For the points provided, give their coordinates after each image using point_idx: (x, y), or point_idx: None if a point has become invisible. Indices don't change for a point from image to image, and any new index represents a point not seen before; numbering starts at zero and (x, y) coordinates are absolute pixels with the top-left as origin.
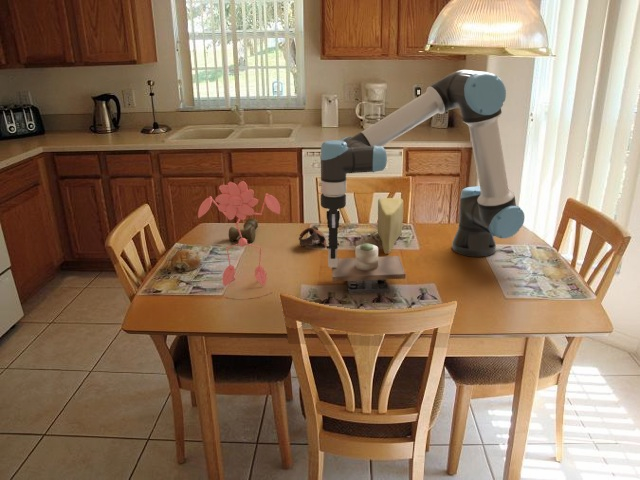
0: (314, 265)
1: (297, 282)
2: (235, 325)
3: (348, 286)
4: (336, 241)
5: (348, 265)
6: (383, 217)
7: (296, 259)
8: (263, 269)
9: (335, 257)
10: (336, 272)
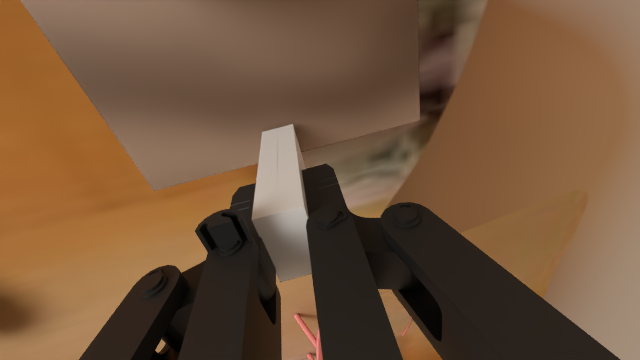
0: (108, 231)
1: None
2: (537, 273)
3: None
4: (518, 291)
5: (226, 51)
6: None
7: (93, 296)
8: (319, 347)
9: (301, 168)
10: (356, 110)
